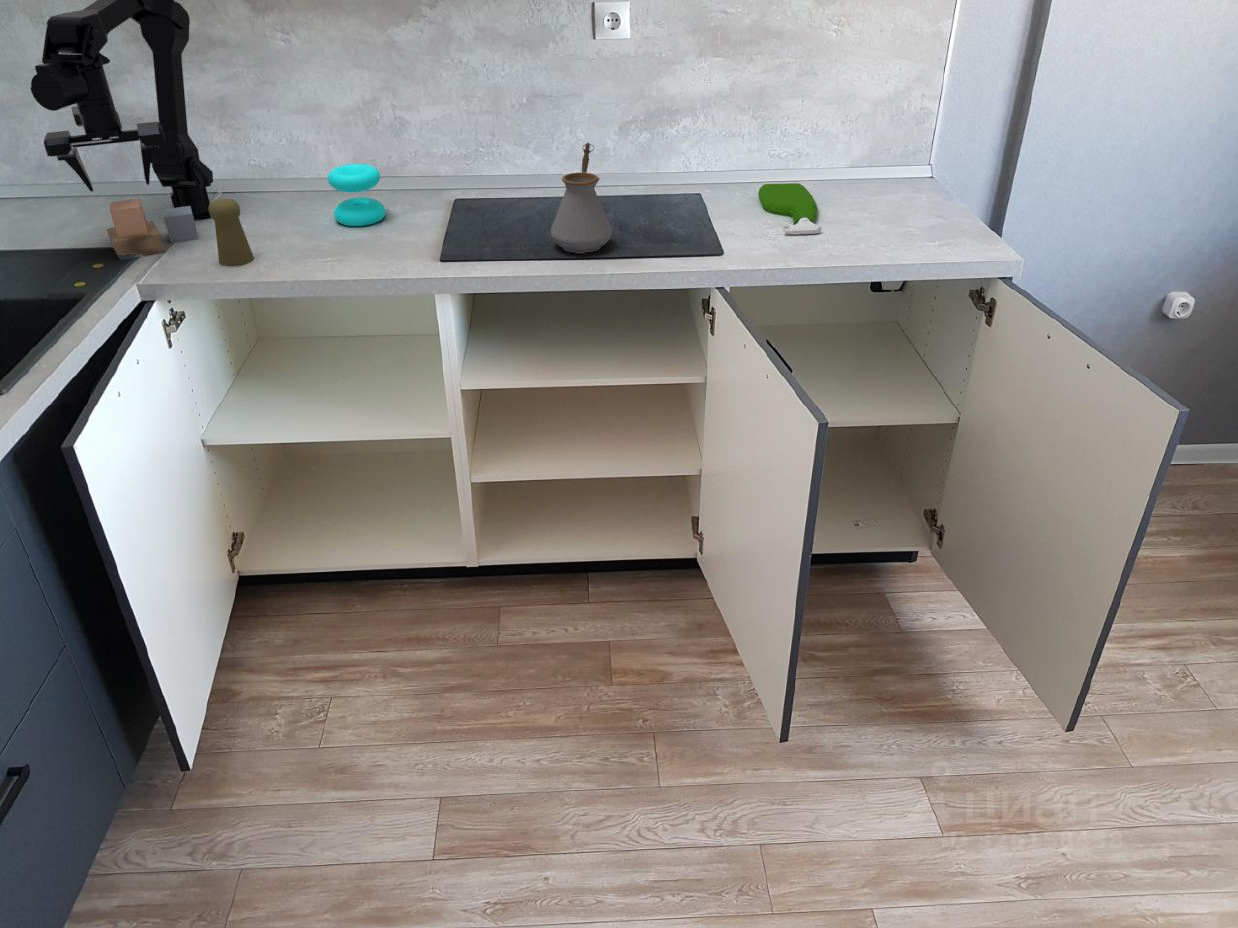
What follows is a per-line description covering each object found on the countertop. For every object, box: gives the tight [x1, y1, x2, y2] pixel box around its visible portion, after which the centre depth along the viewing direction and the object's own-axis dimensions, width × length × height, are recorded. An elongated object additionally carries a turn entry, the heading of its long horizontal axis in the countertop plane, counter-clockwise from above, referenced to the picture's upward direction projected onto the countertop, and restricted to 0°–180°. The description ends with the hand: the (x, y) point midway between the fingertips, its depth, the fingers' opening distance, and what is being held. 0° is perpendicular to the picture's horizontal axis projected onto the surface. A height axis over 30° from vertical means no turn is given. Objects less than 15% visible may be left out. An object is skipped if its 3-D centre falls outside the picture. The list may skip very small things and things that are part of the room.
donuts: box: [327, 163, 386, 227], centre depth 186 cm, size 10×10×10 cm
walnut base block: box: [106, 220, 167, 257], centre depth 175 cm, size 8×8×4 cm
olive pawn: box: [209, 198, 255, 267], centre depth 169 cm, size 6×6×11 cm
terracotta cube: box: [109, 198, 148, 238], centre depth 173 cm, size 5×5×5 cm
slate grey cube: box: [162, 206, 200, 244], centre depth 181 cm, size 5×5×5 cm
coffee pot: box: [550, 142, 613, 252], centre depth 176 cm, size 21×12×15 cm, turn 176°
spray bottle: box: [757, 182, 822, 236], centre depth 190 cm, size 3×11×24 cm
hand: (120, 187), depth 170 cm, fingers open, 9 cm apart
